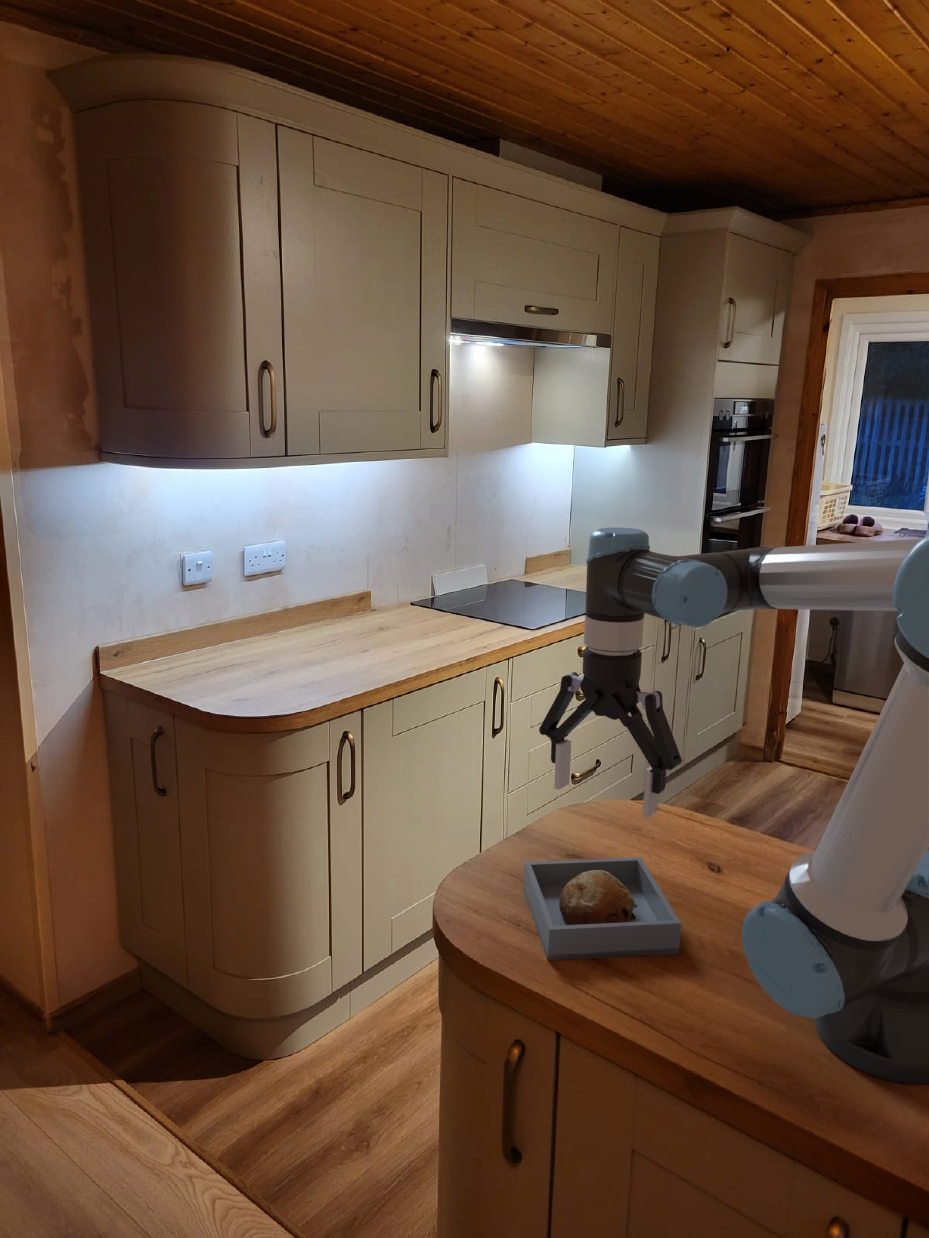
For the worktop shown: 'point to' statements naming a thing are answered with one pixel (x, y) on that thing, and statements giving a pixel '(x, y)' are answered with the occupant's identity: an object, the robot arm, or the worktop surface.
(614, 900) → the bread roll
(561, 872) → the bread tray
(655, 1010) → the worktop surface
